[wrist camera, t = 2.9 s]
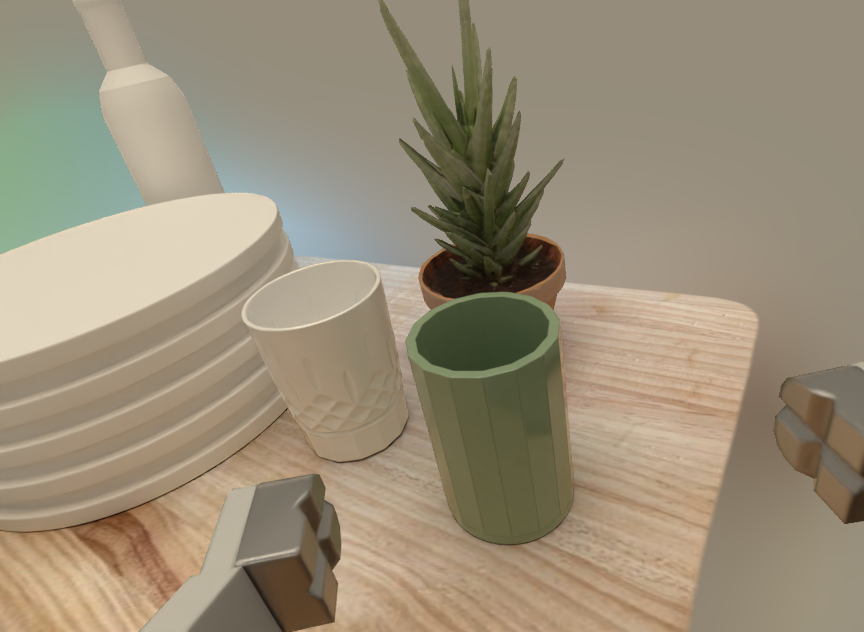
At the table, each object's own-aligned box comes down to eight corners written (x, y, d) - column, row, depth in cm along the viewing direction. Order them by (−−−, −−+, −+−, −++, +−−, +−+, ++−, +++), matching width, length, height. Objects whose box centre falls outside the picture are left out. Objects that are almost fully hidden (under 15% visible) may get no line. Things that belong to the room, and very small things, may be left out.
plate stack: (82, 332, 56) (19, 234, 50) (335, 277, 55) (301, 171, 49) (-152, 573, 31) (-327, 434, 26) (297, 480, 31) (220, 315, 25)
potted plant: (446, 408, 33) (338, -48, 21) (432, 332, 42) (348, -28, 29) (598, 375, 33) (577, -104, 21) (554, 305, 42) (520, -68, 29)
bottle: (239, 293, 56) (97, -32, 41) (175, 302, 58) (16, -9, 43) (267, 261, 63) (153, -28, 48) (209, 270, 65) (81, -8, 50)
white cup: (353, 491, 29) (295, 345, 24) (276, 441, 34) (214, 311, 29) (442, 407, 34) (409, 270, 29) (362, 373, 39) (322, 252, 34)
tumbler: (594, 526, 24) (584, 353, 19) (459, 559, 24) (414, 394, 19) (549, 432, 30) (532, 280, 25) (440, 459, 30) (400, 311, 25)
